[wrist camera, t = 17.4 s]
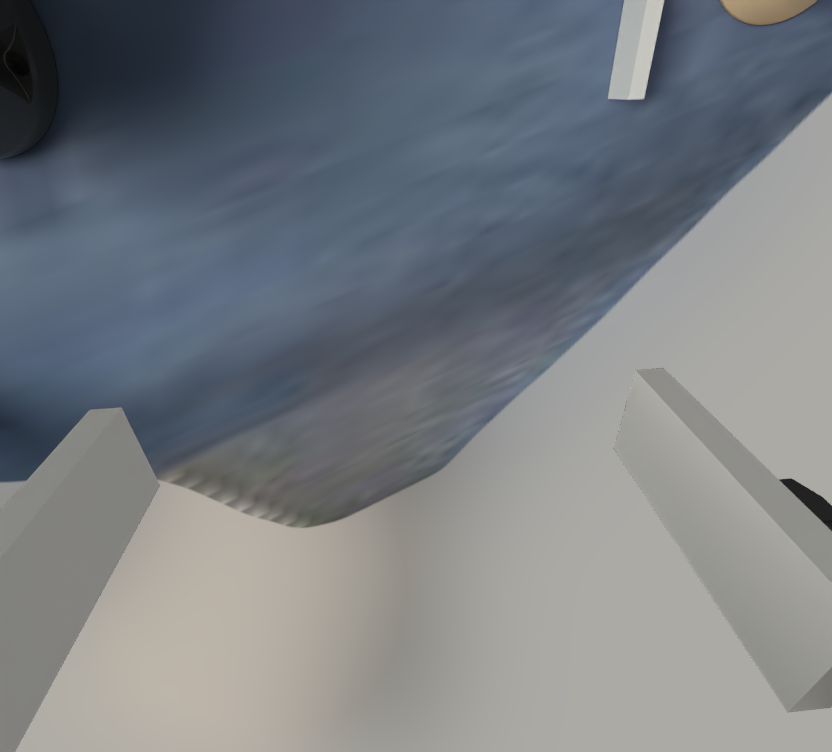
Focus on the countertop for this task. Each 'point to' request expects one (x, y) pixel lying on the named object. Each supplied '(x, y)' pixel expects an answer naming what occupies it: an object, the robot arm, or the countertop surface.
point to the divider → (635, 48)
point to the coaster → (764, 10)
